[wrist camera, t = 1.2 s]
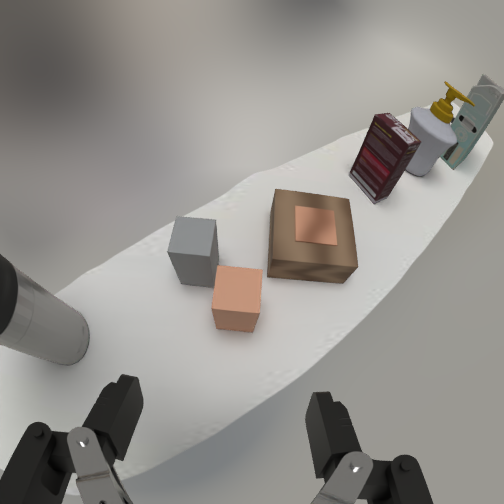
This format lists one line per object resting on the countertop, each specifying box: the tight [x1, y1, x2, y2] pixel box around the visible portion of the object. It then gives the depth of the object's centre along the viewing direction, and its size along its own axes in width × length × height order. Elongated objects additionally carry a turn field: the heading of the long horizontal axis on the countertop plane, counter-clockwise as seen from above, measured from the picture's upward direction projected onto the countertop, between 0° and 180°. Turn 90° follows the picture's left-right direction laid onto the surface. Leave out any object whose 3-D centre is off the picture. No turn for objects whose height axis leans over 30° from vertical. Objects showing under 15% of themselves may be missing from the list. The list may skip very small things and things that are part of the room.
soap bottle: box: [406, 82, 475, 176], centre depth 47 cm, size 13×13×25 cm
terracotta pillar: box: [211, 265, 263, 332], centre depth 34 cm, size 5×5×10 cm
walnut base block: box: [267, 189, 358, 283], centre depth 41 cm, size 12×12×6 cm
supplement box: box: [349, 113, 421, 203], centre depth 45 cm, size 9×5×16 cm, turn 29°
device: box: [440, 74, 504, 170], centre depth 51 cm, size 16×8×30 cm, turn 125°
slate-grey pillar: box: [167, 217, 219, 288], centre depth 36 cm, size 5×5×10 cm
